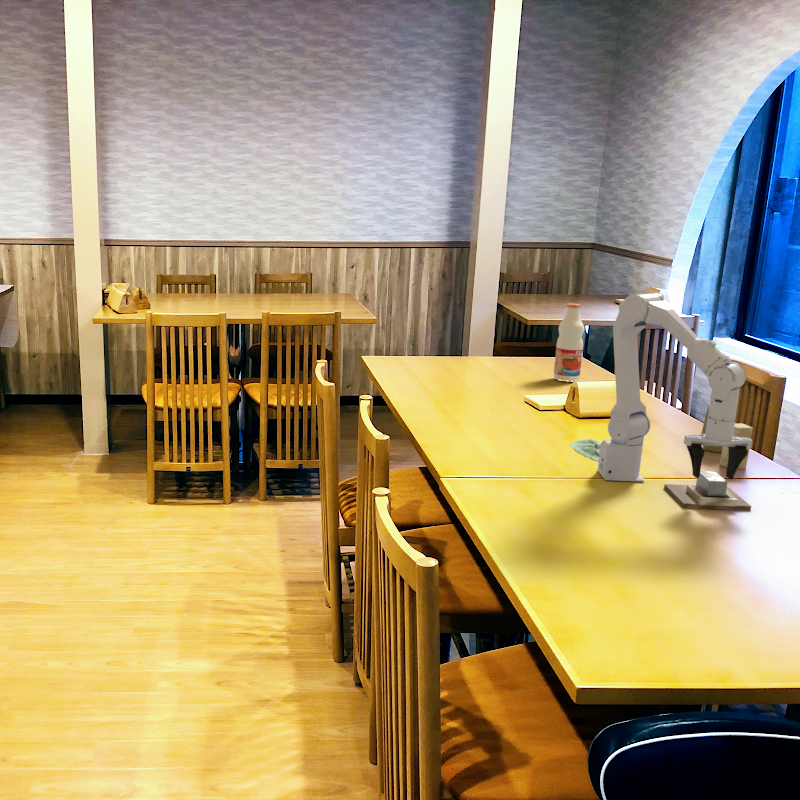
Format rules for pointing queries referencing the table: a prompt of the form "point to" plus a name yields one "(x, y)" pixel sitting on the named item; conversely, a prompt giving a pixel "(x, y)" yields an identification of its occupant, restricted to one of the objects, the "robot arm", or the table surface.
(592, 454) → the cloth
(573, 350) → the fruit juice
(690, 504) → the holder
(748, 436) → the box
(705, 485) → the block
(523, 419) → the table surface
